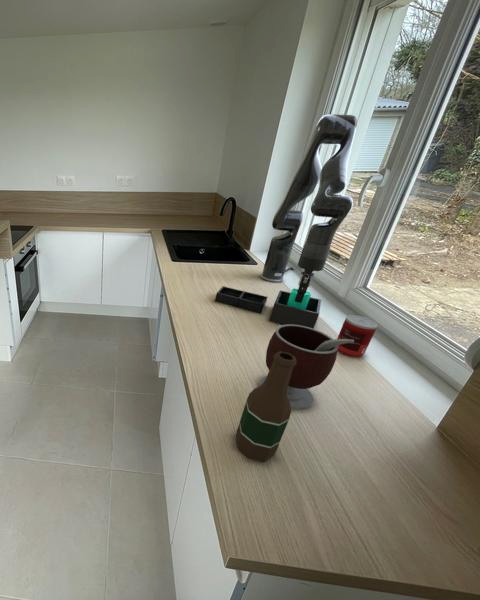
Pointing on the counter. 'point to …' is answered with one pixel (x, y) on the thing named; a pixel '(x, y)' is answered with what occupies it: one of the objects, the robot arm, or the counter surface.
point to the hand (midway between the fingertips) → (298, 298)
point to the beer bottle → (266, 411)
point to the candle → (296, 304)
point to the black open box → (294, 311)
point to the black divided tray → (241, 299)
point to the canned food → (356, 335)
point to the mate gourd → (304, 359)
